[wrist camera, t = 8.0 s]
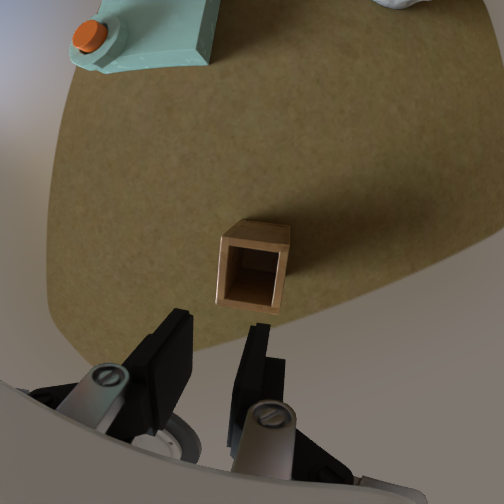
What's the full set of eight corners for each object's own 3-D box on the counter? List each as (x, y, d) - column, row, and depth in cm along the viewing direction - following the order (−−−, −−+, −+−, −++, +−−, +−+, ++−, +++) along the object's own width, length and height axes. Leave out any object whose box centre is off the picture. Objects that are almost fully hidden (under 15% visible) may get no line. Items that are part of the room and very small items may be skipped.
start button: (103, 49, 19) (93, 43, 18) (79, 55, 20) (68, 50, 18) (111, 22, 18) (101, 16, 17) (86, 29, 19) (76, 23, 17)
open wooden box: (282, 277, 28) (279, 315, 20) (235, 270, 29) (215, 305, 21) (290, 225, 27) (289, 245, 19) (241, 218, 27) (221, 235, 20)
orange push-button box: (207, 74, 24) (186, 51, 18) (97, 83, 26) (63, 70, 20) (226, -24, 21) (213, -55, 15) (122, -8, 22) (97, -29, 16)
